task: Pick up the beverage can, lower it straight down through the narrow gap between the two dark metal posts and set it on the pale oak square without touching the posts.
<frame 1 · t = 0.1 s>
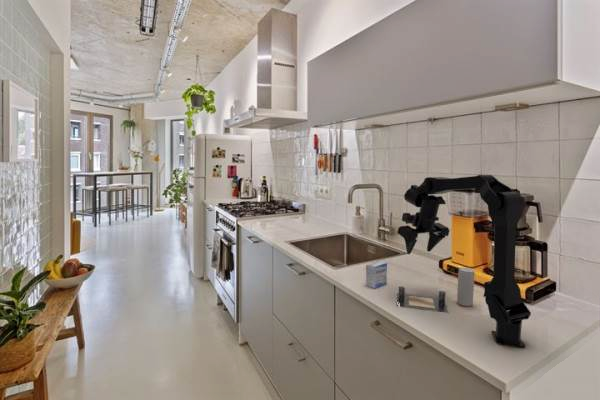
hand: (418, 252, 119), 15 cm above the worktop, tool pointing down, fingers open, 9 cm apart
medicine box: (376, 285, 129), on the worktop
post gate: (421, 303, 113), on the worktop
beverage can: (464, 304, 112), on the worktop
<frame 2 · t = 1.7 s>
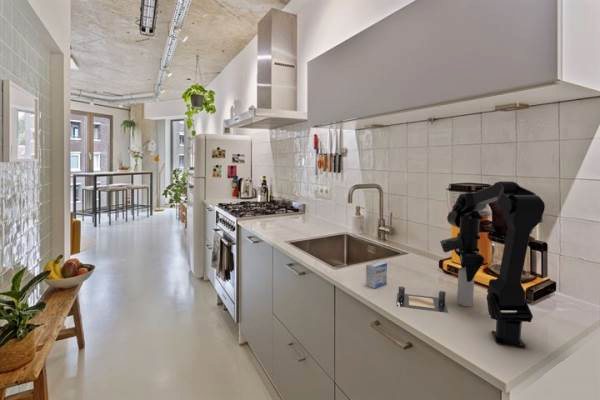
hand: (466, 277, 110), 9 cm above the worktop, tool pointing down, fingers open, 9 cm apart
nothing on the worktop moved.
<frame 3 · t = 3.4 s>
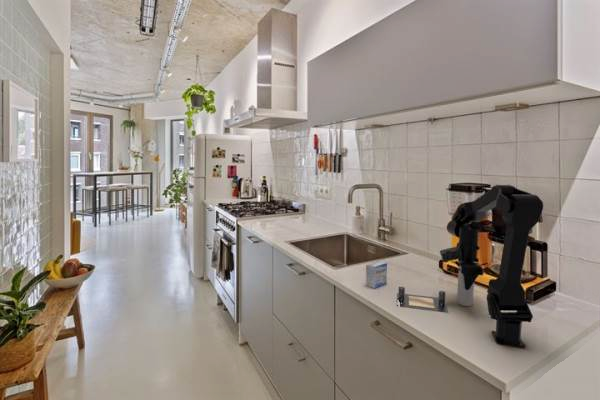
hand: (465, 286, 111), 6 cm above the worktop, tool pointing down, fingers closed on beverage can, 5 cm apart
beverage can: (464, 304, 112), on the worktop, touching gripper
everything else where it was.
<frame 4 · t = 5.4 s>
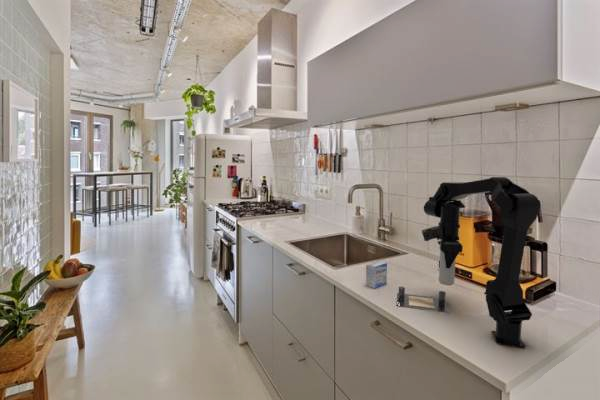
hand: (447, 265, 111), 13 cm above the worktop, tool pointing down, fingers closed on beverage can, 5 cm apart
beverage can: (446, 283, 112), point 7 cm above the worktop, touching gripper
everything else where it was.
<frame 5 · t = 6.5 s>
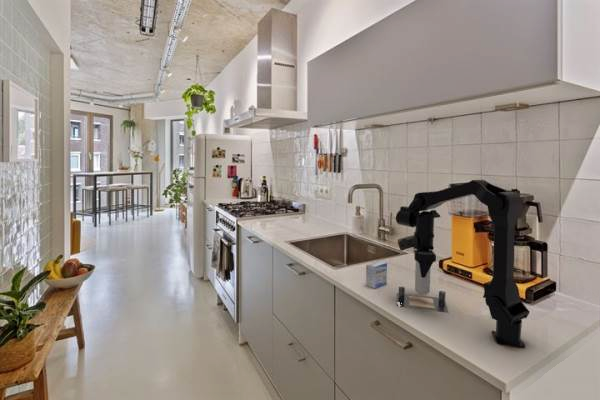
hand: (422, 274, 112), 10 cm above the worktop, tool pointing down, fingers closed on beverage can, 5 cm apart
beverage can: (422, 292, 112), point 3 cm above the worktop, touching gripper
everything else where it was.
when the fingers open (8 cm above the worktop, at t = 7.3 s): beverage can drops 1 cm, resting on post gate.
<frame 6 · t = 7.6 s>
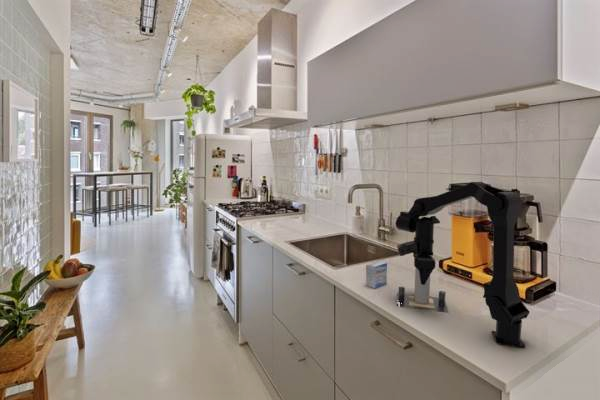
hand: (422, 280, 112), 8 cm above the worktop, tool pointing down, fingers open, 8 cm apart
post gate: (421, 303, 113), on the worktop, touching beverage can
beverage can: (421, 302, 113), resting on post gate
everything else where it was.
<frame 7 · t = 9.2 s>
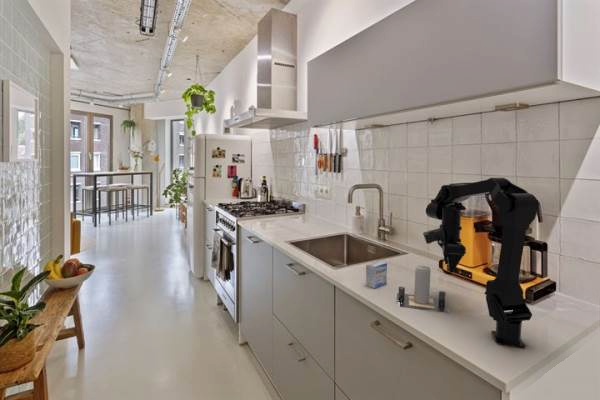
hand: (448, 268, 111), 12 cm above the worktop, tool pointing down, fingers open, 9 cm apart
nothing on the worktop moved.
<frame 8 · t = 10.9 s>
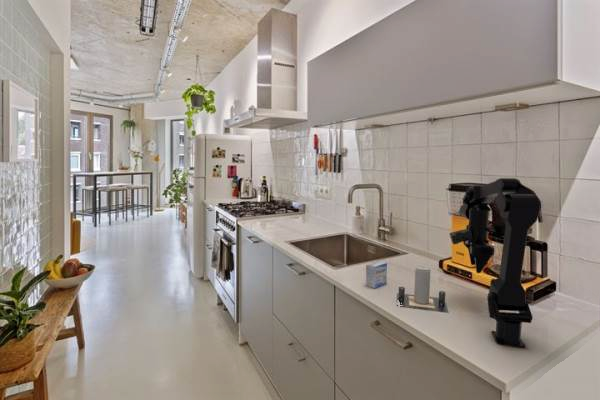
hand: (475, 268, 111), 12 cm above the worktop, tool pointing down, fingers open, 9 cm apart
nothing on the worktop moved.
at the end: beverage can inside the target area (0.1 cm from its centre), resting on post gate; beverage can tilted 0°; post gate moved 0.6 cm from its start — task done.
